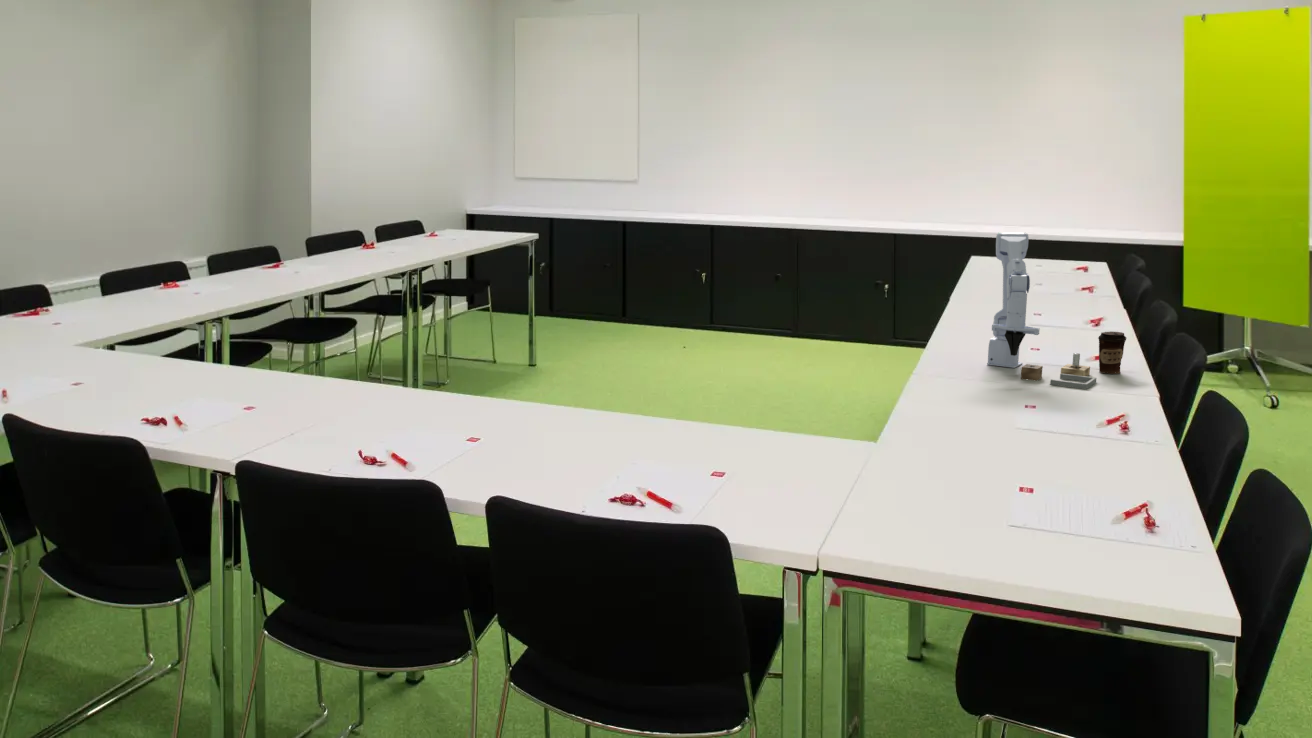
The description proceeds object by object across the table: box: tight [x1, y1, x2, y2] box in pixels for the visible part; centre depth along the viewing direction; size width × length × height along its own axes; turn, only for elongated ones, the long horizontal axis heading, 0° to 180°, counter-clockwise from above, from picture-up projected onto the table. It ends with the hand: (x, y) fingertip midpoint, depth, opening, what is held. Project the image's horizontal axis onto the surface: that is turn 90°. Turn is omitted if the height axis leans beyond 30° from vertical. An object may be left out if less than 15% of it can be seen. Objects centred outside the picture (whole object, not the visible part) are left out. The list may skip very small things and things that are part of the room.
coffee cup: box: [1097, 331, 1127, 375], centre depth 350 cm, size 9×8×13 cm
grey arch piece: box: [1049, 373, 1098, 390], centre depth 337 cm, size 11×11×2 cm
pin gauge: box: [1072, 352, 1081, 369], centre depth 347 cm, size 2×2×7 cm
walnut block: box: [1020, 363, 1043, 382], centre depth 344 cm, size 5×5×4 cm
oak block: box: [1060, 363, 1091, 377], centre depth 348 cm, size 7×7×3 cm
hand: (1013, 355), depth 347 cm, fingers closed
